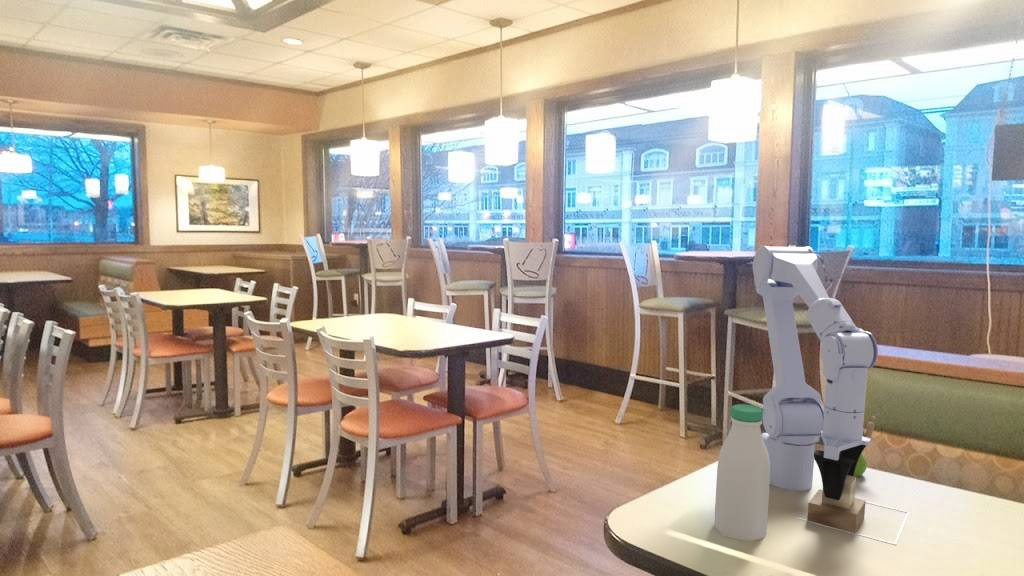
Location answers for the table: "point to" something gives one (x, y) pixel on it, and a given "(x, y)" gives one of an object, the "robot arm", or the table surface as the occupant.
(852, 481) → the maple cube
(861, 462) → the snail figurine
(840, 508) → the walnut base block
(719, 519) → the milk bottle
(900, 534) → the white rectangular outline marking
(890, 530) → the table surface
